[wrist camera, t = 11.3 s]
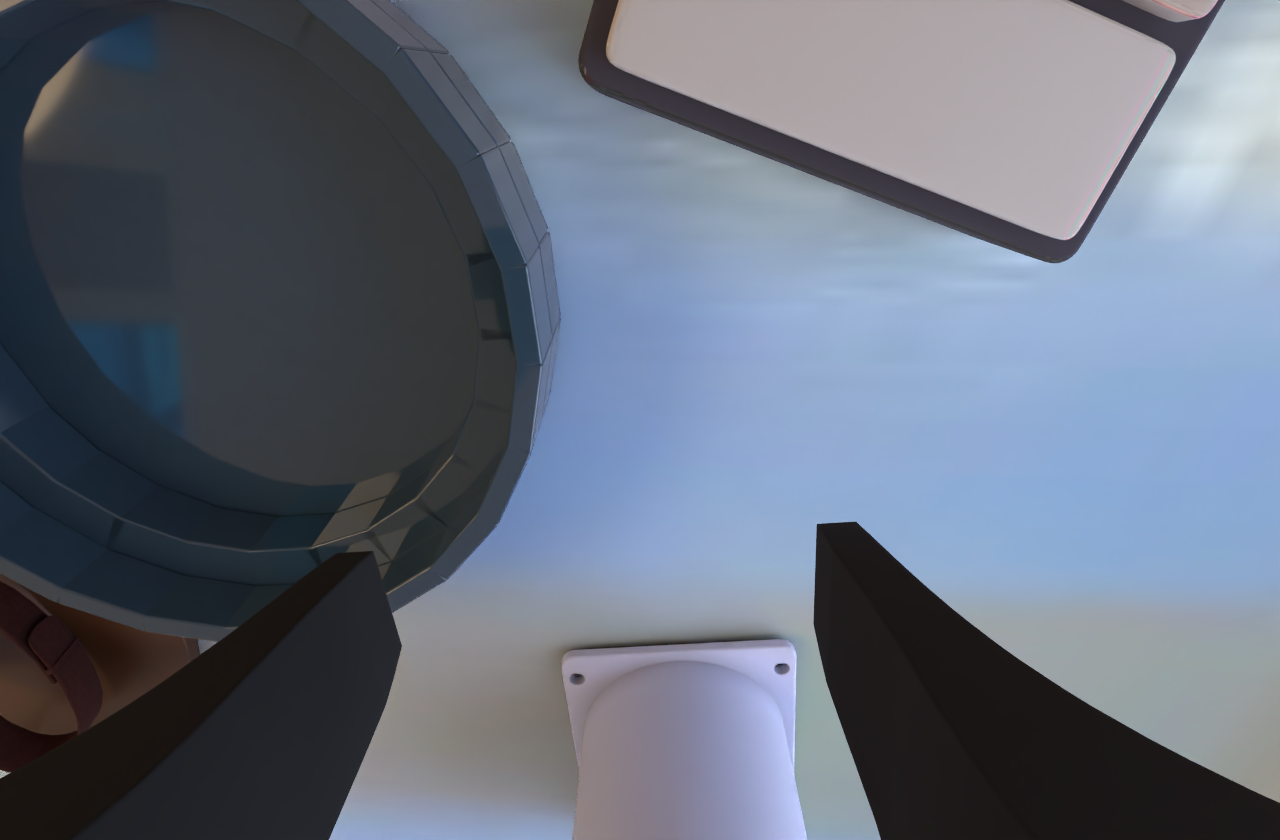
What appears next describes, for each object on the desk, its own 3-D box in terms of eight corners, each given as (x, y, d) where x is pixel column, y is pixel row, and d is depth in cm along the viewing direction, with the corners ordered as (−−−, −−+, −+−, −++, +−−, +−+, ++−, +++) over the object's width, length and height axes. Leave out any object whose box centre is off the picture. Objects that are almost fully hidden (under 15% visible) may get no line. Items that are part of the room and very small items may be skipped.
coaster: (243, 733, 27) (234, 747, 26) (-36, 746, 27) (-50, 760, 27) (127, 482, 22) (114, 492, 21) (-208, 504, 22) (-230, 515, 22)
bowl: (592, 537, 22) (582, 625, 19) (74, 568, 23) (-32, 659, 20) (503, -130, 15) (457, -196, 11) (-256, -51, 16) (-522, -88, 12)
